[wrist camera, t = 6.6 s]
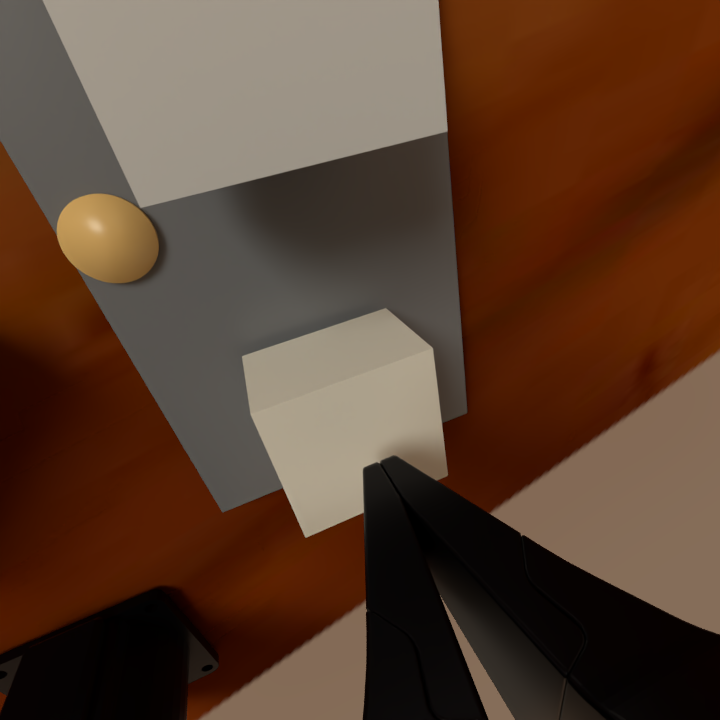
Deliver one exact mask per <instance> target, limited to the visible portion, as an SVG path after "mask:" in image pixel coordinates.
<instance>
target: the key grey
mask: <svg viewBox="0 0 720 720" xmlns="http://www.w3.org/2000/svg"><path fill="white" fill-rule="evenodd" d="M43 2H44V4H45V7H46V9H47V11H48V13H49V15H50V17H51V19H52V21H53V24H54V26H55V28H56V30H57V32H58V34H59V36H60V38H61V41H62V43H63V45H64V47H65V49H66V51H67V53H68V55H69V58H70V60H71V62H72V64H73V66H74V68H75V70H76V73H77V75H78V77H79V79H80V81H81V83H82V85H83V87H84V90H85V92H86V94H87V96H88V98H89V100H90V102H91V104H92V107H93V109H94V111H95V113H96V115H97V117H98V119H99V121H100V124H101V126H102V128H103V130H104V132H105V134H106V136H107V138H108V141H109V143H110V145H111V147H112V149H113V151H114V153H115V155H116V158H117V160H118V162H119V164H120V166H121V168H122V170H123V172H124V175H125V177H126V179H127V181H128V183H129V185H130V187H131V189H132V192H133V194H134V196H135V198H136V200H137V202H138V204H139V206H140V208H143V207H147V206H151V205H155V204H159V203H163V202H167V201H171V200H175V199H179V198H183V197H187V196H191V195H195V194H199V193H203V192H207V191H211V190H215V189H219V188H223V187H227V186H231V185H235V184H239V183H243V182H247V181H251V180H255V179H259V178H263V177H267V176H271V175H275V174H279V173H283V172H287V171H291V170H295V169H299V168H303V167H307V166H311V165H315V164H319V163H323V162H327V161H331V160H335V159H339V158H343V157H347V156H351V155H355V154H359V153H363V152H367V151H371V150H375V149H379V148H383V147H387V146H391V145H395V144H399V143H403V142H407V141H411V140H415V139H419V138H423V137H427V136H431V135H435V134H439V133H443V132H447V131H448V129H447V115H446V101H445V87H444V73H443V59H442V45H441V31H440V16H439V2H438V0H43Z"/></svg>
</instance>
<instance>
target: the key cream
mask: <svg viewBox="0 0 720 720" xmlns="http://www.w3.org/2000/svg"><path fill="white" fill-rule="evenodd" d="M242 361H243V367H244V374H245V381H246V388H247V394H248V401H249V408H250V414H251V417H252V419H253V421H254V423H255V426H256V428H257V430H258V432H259V435H260V437H261V439H262V441H263V444H264V446H265V448H266V450H267V452H268V455H269V457H270V459H271V461H272V464H273V466H274V468H275V470H276V473H277V475H278V477H279V479H280V482H281V484H282V486H283V488H284V490H285V493H286V495H287V497H288V499H289V502H290V504H291V506H292V508H293V511H294V513H295V515H296V517H297V520H298V522H299V524H300V526H301V528H302V531H303V533H304V535H305V537H309V536H311V535H313V534H315V533H318V532H320V531H322V530H325V529H327V528H329V527H331V526H334V525H336V524H338V523H341V522H343V521H345V520H348V519H350V518H352V517H354V516H357V515H359V514H361V513H364V504H363V468H364V467H366V466H368V465H371V464H373V463H375V462H378V463H380V461H381V460H383V459H385V458H388V457H390V456H392V455H396V456H398V457H399V458H401V459H403V460H404V461H406V462H407V463H409V464H411V465H412V466H414V467H415V468H417V469H419V470H420V471H422V472H423V473H425V474H427V475H428V476H430V477H431V478H433V479H435V480H436V481H437V480H439V479H442V478H444V477H446V476H448V471H447V463H446V454H445V446H444V437H443V429H442V420H441V412H440V403H439V395H438V386H437V378H436V370H435V361H434V353H433V348H432V347H431V346H430V345H429V344H428V343H426V342H425V341H424V340H423V339H422V338H421V337H419V336H418V335H417V334H416V333H415V332H414V331H412V330H411V329H410V328H409V327H408V326H406V325H405V324H404V323H403V322H402V321H401V320H399V319H398V318H397V317H396V316H395V315H393V314H392V313H391V312H390V311H389V310H388V309H386V308H385V309H382V310H379V311H376V312H373V313H370V314H367V315H364V316H361V317H358V318H355V319H352V320H349V321H346V322H343V323H340V324H337V325H334V326H331V327H328V328H325V329H322V330H319V331H316V332H313V333H310V334H307V335H304V336H301V337H298V338H295V339H292V340H289V341H286V342H283V343H280V344H277V345H274V346H271V347H268V348H265V349H262V350H259V351H256V352H253V353H250V354H247V355H244V356H242Z"/></svg>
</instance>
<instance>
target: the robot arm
mask: <svg viewBox="0 0 720 720" xmlns="http://www.w3.org/2000/svg"><path fill="white" fill-rule="evenodd" d="M363 504H364V542H365V581H366V609H367V612H366V625H367V626H366V627H367V657H366V658H367V660H366V662H367V664H366V682H365V698H364V711H363V720H488V717H487V714H486V712H485V709H484V707H483V704H482V702H481V699H480V696H479V694H478V691H477V689H476V686H475V684H474V681H473V679H472V677H471V673H470V671H469V668H468V666H467V663H466V661H465V658H464V656H463V653H462V650H461V648H460V645H459V643H458V640H457V638H456V635H455V633H454V630H453V628H452V625H451V622H450V620H449V617H448V615H447V612H446V610H445V607H444V605H443V602H442V599H441V597H442V598H443V600H444V602H445V604H446V605H447V607H448V609H449V610H450V612H451V614H452V615H453V617H454V619H455V620H456V622H457V624H458V625H459V627H460V629H461V630H462V632H463V634H464V635H465V637H466V638H467V640H468V642H469V643H470V645H471V647H472V648H473V650H474V652H475V653H476V655H477V657H478V658H479V660H480V662H481V664H482V665H483V667H484V669H485V670H486V672H487V674H488V675H489V677H490V679H491V680H492V682H493V683H494V685H495V687H496V688H497V690H498V692H499V693H500V695H501V697H502V698H503V700H504V702H505V703H506V705H507V707H508V708H509V710H510V711H511V713H512V715H513V717H514V718H515V720H720V634H716V633H714V632H711V631H708V630H705V629H702V628H699V627H697V626H695V625H692V624H690V623H688V622H685V621H683V620H681V619H679V618H677V617H675V616H673V615H671V614H669V613H667V612H665V611H663V610H661V609H659V608H657V607H655V606H653V605H651V604H649V603H647V602H645V601H643V600H641V599H639V598H637V597H635V596H633V595H631V594H629V593H627V592H625V591H623V590H621V589H619V588H617V587H615V586H613V585H611V584H609V583H607V582H605V581H603V580H601V579H599V578H598V577H595V576H594V575H592V574H590V573H588V572H586V571H584V570H582V569H580V568H579V567H577V566H574V565H573V564H571V563H569V562H567V561H566V560H564V559H562V558H560V557H559V556H557V555H555V554H554V553H552V552H550V551H549V550H547V549H545V548H543V547H542V546H540V545H539V544H537V543H535V542H534V541H532V540H531V539H529V538H528V537H526V536H524V535H523V536H521V534H520V533H519V532H518V531H516V530H514V529H513V528H511V527H510V526H508V525H507V524H505V523H503V522H502V521H500V520H499V519H497V518H495V517H494V516H492V515H491V514H489V513H487V512H486V511H484V510H483V509H481V508H479V507H478V506H476V505H475V504H473V503H471V502H470V501H468V500H467V499H465V498H463V497H462V496H460V495H459V494H457V493H455V492H454V491H452V490H451V489H449V488H447V487H446V486H444V485H443V484H441V483H439V482H438V481H436V480H435V479H433V478H431V477H430V476H428V475H427V474H425V473H423V472H422V471H420V470H419V469H417V468H415V467H414V466H412V465H411V464H409V463H407V462H406V461H404V460H403V459H401V458H399V457H398V456H396V455H392V456H390V457H388V458H385V459H383V460H381V461H380V463H378V462H375V463H373V464H371V465H368V466H366V467H364V468H363ZM440 595H441V597H440ZM218 666H219V656H218V654H217V652H216V651H215V650H214V649H213V648H212V647H211V645H210V644H209V643H208V642H207V641H206V640H205V638H204V637H203V636H202V635H201V634H200V633H199V631H198V630H197V629H196V628H195V627H194V626H193V625H192V623H191V622H190V621H189V620H188V619H187V618H186V616H185V615H184V614H183V613H182V612H181V611H180V609H179V608H178V607H177V606H176V605H175V604H174V602H173V601H172V600H171V599H170V598H169V597H168V595H167V594H166V593H165V592H163V591H160V590H152V591H149V592H146V593H144V594H141V595H139V596H137V597H134V598H132V599H130V600H127V601H125V602H123V603H120V604H118V605H116V606H113V607H111V608H109V609H106V610H104V611H102V612H99V613H97V614H95V615H92V616H90V617H88V618H85V619H83V620H81V621H78V622H76V623H74V624H71V625H69V626H67V627H64V628H62V629H60V630H57V631H55V632H53V633H51V634H48V635H46V636H44V637H41V638H39V639H37V640H34V641H32V642H30V643H27V644H25V645H23V646H20V647H18V648H16V649H13V650H11V651H9V652H6V653H4V654H2V655H0V692H2V693H3V694H5V695H7V697H6V699H5V702H4V704H3V707H2V710H1V712H0V720H186V719H187V698H188V684H189V683H191V682H193V681H195V680H197V679H199V678H201V677H204V676H206V675H208V674H210V673H212V672H213V671H215V670H216V669H217V668H218Z"/></svg>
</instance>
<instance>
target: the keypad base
mask: <svg viewBox="0 0 720 720" xmlns="http://www.w3.org/2000/svg"><path fill="white" fill-rule="evenodd" d="M0 141H1V142H2V144H3V146H4V147H5V149H6V151H7V152H8V154H9V156H10V157H11V159H12V161H13V162H14V164H15V166H16V167H17V169H18V171H19V172H20V174H21V176H22V177H23V179H24V181H25V183H26V184H27V186H28V188H29V189H30V191H31V193H32V194H33V196H34V198H35V199H36V201H37V203H38V204H39V206H40V208H41V209H42V211H43V213H44V214H45V216H46V218H47V219H48V221H49V223H50V224H51V226H52V228H53V229H54V231H55V233H56V234H57V237H58V241H59V244H60V247H61V249H62V251H63V253H64V254H65V256H66V257H67V258H68V260H69V261H70V262H71V263H72V264H73V265H74V266H75V267H76V268H77V270H78V271H79V273H80V275H81V276H82V278H83V280H84V281H85V283H86V285H87V286H88V288H89V290H90V291H91V293H92V295H93V296H94V298H95V300H96V301H97V303H98V305H99V306H100V308H101V310H102V311H103V313H104V315H105V317H106V318H107V320H108V322H109V323H110V325H111V327H112V328H113V330H114V332H115V333H116V335H117V337H118V338H119V340H120V342H121V343H122V345H123V347H124V348H125V350H126V352H127V353H128V355H129V357H130V358H131V360H132V362H133V363H134V365H135V367H136V368H137V370H138V372H139V373H140V375H141V377H142V378H143V380H144V382H145V384H146V385H147V387H148V389H149V390H150V392H151V394H152V395H153V397H154V399H155V400H156V402H157V404H158V405H159V407H160V409H161V410H162V412H163V414H164V415H165V417H166V419H167V420H168V422H169V424H170V425H171V427H172V429H173V430H174V432H175V434H176V435H177V437H178V439H179V440H180V442H181V444H182V445H183V447H184V449H185V451H186V452H187V454H188V456H189V457H190V459H191V461H192V462H193V464H194V466H195V467H196V469H197V471H198V472H199V474H200V476H201V477H202V479H203V481H204V482H205V484H206V486H207V487H208V489H209V491H210V492H211V494H212V496H213V497H214V499H215V501H216V502H217V504H218V506H219V507H220V509H221V511H222V512H225V511H227V510H230V509H232V508H235V507H237V506H240V505H242V504H244V503H247V502H249V501H252V500H254V499H257V498H259V497H262V496H264V495H267V494H269V493H272V492H274V491H276V490H279V489H281V488H283V486H282V484H281V482H280V479H279V477H278V475H277V473H276V470H275V468H274V466H273V464H272V461H271V459H270V457H269V455H268V452H267V450H266V448H265V446H264V444H263V441H262V439H261V437H260V435H259V432H258V430H257V428H256V426H255V423H254V421H253V419H252V417H251V414H250V408H249V401H248V394H247V388H246V381H245V374H244V367H243V361H242V356H244V355H247V354H250V353H253V352H256V351H259V350H262V349H265V348H268V347H271V346H274V345H277V344H280V343H283V342H286V341H289V340H292V339H295V338H298V337H301V336H304V335H307V334H310V333H313V332H316V331H319V330H322V329H325V328H328V327H331V326H334V325H337V324H340V323H343V322H346V321H349V320H352V319H355V318H358V317H361V316H364V315H367V314H370V313H373V312H376V311H379V310H382V309H385V308H386V309H388V310H389V311H390V312H391V313H392V314H393V315H395V316H396V317H397V318H398V319H399V320H401V321H402V322H403V323H404V324H405V325H406V326H408V327H409V328H410V329H411V330H412V331H414V332H415V333H416V334H417V335H418V336H419V337H421V338H422V339H423V340H424V341H425V342H426V343H428V344H429V345H430V346H431V347H432V348H433V353H434V361H435V370H436V378H437V386H438V395H439V403H440V412H441V420H442V423H444V422H446V421H449V420H451V419H454V418H456V417H459V416H461V415H464V414H466V413H467V401H466V387H465V373H464V359H463V345H462V331H461V317H460V303H459V290H458V276H457V262H456V248H455V234H454V220H453V206H452V192H451V178H450V164H449V151H448V137H447V132H443V133H439V134H435V135H431V136H427V137H423V138H419V139H415V140H411V141H407V142H403V143H399V144H395V145H391V146H387V147H383V148H379V149H375V150H371V151H367V152H363V153H359V154H355V155H351V156H347V157H343V158H339V159H335V160H331V161H327V162H323V163H319V164H315V165H311V166H307V167H303V168H299V169H295V170H291V171H287V172H283V173H279V174H275V175H271V176H267V177H263V178H259V179H255V180H251V181H247V182H243V183H239V184H235V185H231V186H227V187H223V188H219V189H215V190H211V191H207V192H203V193H199V194H195V195H191V196H187V197H183V198H179V199H175V200H171V201H167V202H163V203H159V204H155V205H151V206H147V207H143V208H140V206H139V204H138V202H137V200H136V198H135V196H134V194H133V192H132V189H131V187H130V185H129V183H128V181H127V179H126V177H125V175H124V172H123V170H122V168H121V166H120V164H119V162H118V160H117V158H116V155H115V153H114V151H113V149H112V147H111V145H110V143H109V141H108V138H107V136H106V134H105V132H104V130H103V128H102V126H101V124H100V121H99V119H98V117H97V115H96V113H95V111H94V109H93V107H92V104H91V102H90V100H89V98H88V96H87V94H86V92H85V90H84V87H83V85H82V83H81V81H80V79H79V77H78V75H77V73H76V70H75V68H74V66H73V64H72V62H71V60H70V58H69V55H68V53H67V51H66V49H65V47H64V45H63V43H62V41H61V38H60V36H59V34H58V32H57V30H56V28H55V26H54V24H53V21H52V19H51V17H50V15H49V13H48V11H47V9H46V7H45V4H44V2H43V0H0Z"/></svg>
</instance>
